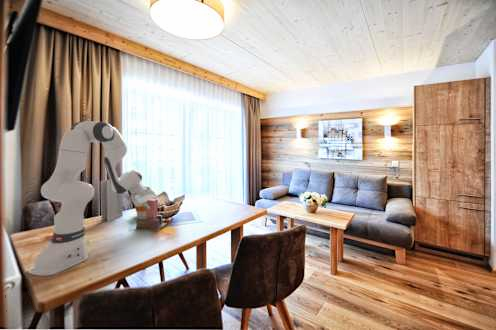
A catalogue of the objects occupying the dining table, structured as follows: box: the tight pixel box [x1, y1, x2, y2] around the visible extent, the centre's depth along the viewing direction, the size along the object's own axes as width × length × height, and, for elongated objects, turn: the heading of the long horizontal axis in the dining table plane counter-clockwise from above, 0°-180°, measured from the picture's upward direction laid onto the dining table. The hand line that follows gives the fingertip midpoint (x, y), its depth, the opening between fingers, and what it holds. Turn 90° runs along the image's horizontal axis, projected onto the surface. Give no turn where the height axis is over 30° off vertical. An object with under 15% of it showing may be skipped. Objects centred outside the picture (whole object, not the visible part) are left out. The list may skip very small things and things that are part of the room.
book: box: [145, 198, 158, 219], centre depth 150 cm, size 4×6×13 cm, turn 80°
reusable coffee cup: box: [134, 205, 146, 218], centre depth 174 cm, size 13×13×15 cm
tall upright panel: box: [100, 179, 124, 223], centre depth 165 cm, size 14×6×30 cm, turn 168°
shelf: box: [135, 217, 168, 233], centre depth 150 cm, size 12×16×8 cm
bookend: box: [156, 214, 163, 224], centre depth 154 cm, size 1×10×6 cm, turn 80°
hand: (152, 207), depth 150 cm, fingers closed on book, 4 cm apart
